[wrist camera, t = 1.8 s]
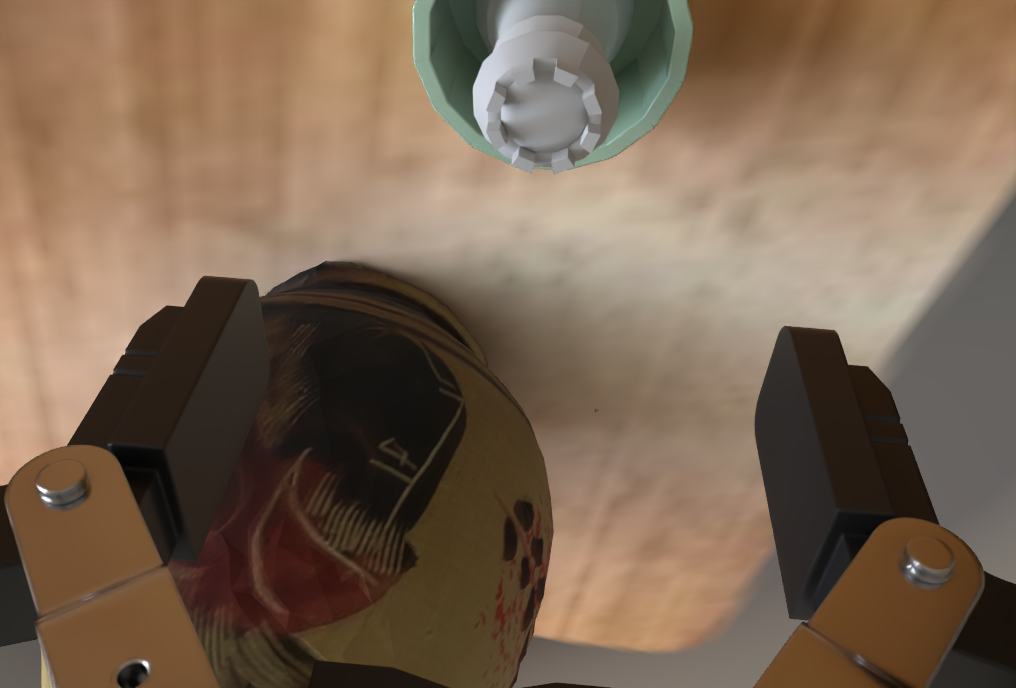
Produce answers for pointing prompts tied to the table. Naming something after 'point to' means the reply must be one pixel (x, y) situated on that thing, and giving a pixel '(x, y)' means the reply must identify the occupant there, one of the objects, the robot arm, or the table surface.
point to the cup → (637, 68)
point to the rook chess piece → (549, 77)
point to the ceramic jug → (373, 500)
